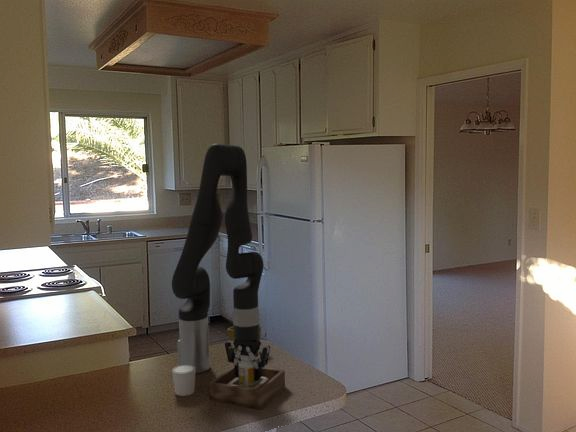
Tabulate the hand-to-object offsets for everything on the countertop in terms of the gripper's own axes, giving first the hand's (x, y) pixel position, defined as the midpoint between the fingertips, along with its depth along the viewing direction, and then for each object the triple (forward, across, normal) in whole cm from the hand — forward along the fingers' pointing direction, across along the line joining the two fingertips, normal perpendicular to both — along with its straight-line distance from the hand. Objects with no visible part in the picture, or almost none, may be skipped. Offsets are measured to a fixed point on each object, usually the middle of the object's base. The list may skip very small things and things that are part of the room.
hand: (248, 378), depth 159 cm
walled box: (+4, 0, 0) cm, 4 cm away
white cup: (+5, -18, -6) cm, 20 cm away
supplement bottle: (+3, 0, 0) cm, 3 cm away
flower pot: (+5, -17, +29) cm, 34 cm away
